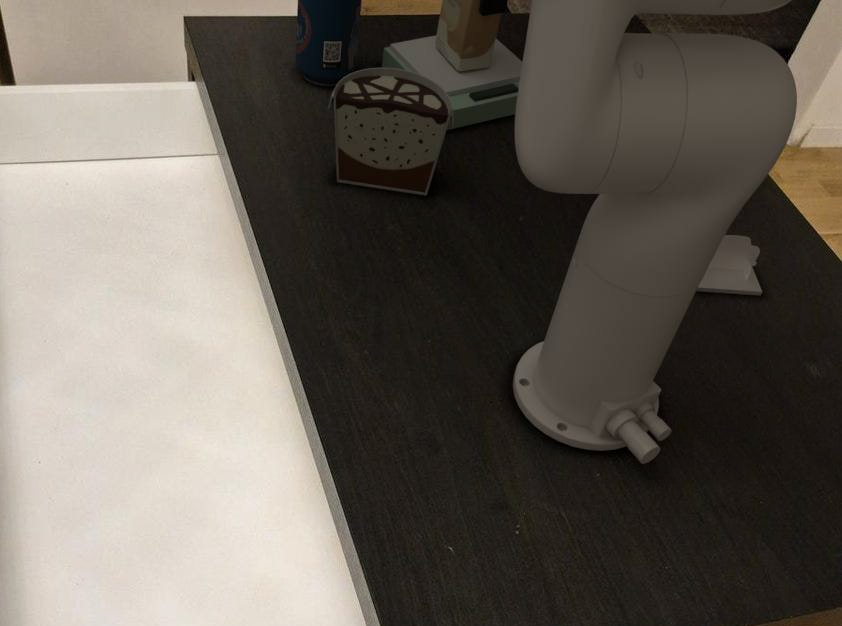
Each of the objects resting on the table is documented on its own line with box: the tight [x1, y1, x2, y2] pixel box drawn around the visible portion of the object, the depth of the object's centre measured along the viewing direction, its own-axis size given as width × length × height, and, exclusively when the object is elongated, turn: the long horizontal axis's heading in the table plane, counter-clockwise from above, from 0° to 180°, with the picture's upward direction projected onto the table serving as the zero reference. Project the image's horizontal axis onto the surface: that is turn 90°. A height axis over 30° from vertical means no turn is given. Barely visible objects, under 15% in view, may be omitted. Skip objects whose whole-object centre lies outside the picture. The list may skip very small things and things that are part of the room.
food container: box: [326, 67, 455, 196], centre depth 96 cm, size 12×6×10 cm, turn 84°
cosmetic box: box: [435, 0, 502, 71], centre depth 105 cm, size 6×4×12 cm
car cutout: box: [696, 234, 763, 296], centre depth 93 cm, size 15×7×4 cm, turn 92°
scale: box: [381, 35, 523, 131], centre depth 110 cm, size 14×14×3 cm
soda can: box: [295, 0, 362, 87], centre depth 105 cm, size 7×7×12 cm
